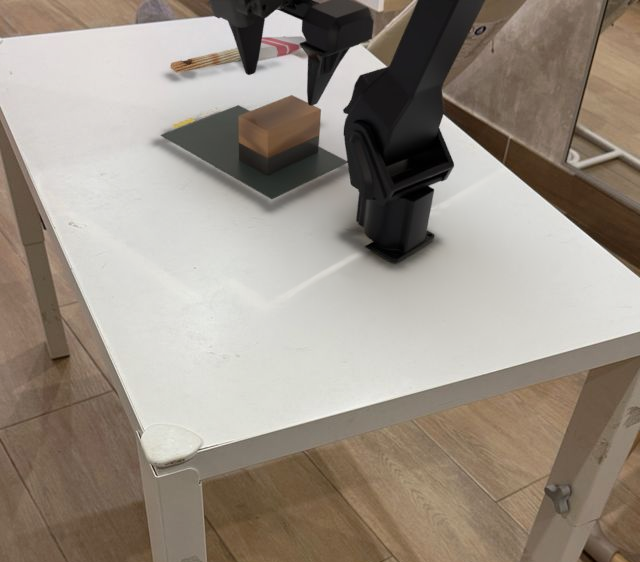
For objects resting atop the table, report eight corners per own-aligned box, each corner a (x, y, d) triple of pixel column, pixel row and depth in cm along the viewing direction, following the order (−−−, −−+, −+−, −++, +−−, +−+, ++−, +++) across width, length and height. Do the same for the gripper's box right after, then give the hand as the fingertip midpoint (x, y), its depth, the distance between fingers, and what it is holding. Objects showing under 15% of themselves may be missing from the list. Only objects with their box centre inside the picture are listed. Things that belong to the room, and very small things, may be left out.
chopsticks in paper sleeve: (314, 34, 109) (178, 65, 102) (314, 54, 111) (180, 86, 104) (300, 23, 112) (165, 53, 104) (299, 44, 114) (167, 74, 106)
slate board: (348, 170, 91) (349, 161, 90) (271, 207, 85) (271, 199, 84) (238, 112, 99) (238, 104, 98) (160, 143, 93) (160, 134, 92)
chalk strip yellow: (196, 120, 95) (191, 117, 95) (175, 127, 93) (171, 125, 94) (196, 128, 96) (191, 125, 96) (176, 135, 94) (172, 133, 94)
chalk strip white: (221, 109, 97) (217, 107, 97) (202, 117, 95) (197, 114, 96) (221, 117, 98) (217, 115, 98) (202, 125, 96) (198, 122, 97)
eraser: (318, 152, 91) (321, 109, 88) (267, 175, 87) (268, 131, 83) (290, 137, 93) (291, 94, 90) (238, 159, 89) (238, 115, 85)
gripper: (150, -94, 74) (162, 79, 85) (297, -36, 65) (290, 146, 77) (240, -111, 80) (241, 52, 91) (386, -60, 71) (367, 112, 83)
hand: (280, 88), depth 85 cm, fingers open, 9 cm apart
